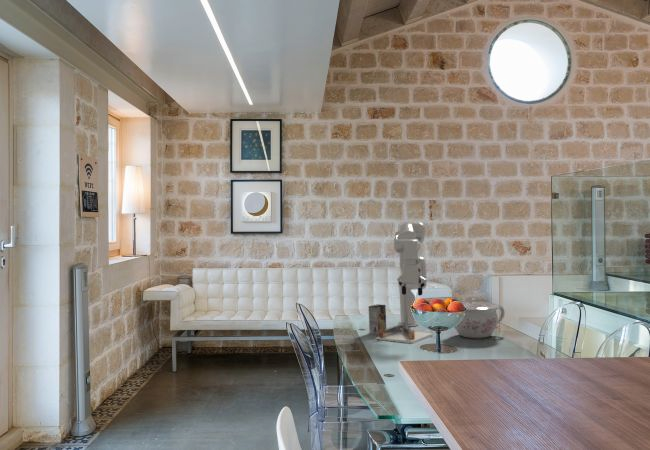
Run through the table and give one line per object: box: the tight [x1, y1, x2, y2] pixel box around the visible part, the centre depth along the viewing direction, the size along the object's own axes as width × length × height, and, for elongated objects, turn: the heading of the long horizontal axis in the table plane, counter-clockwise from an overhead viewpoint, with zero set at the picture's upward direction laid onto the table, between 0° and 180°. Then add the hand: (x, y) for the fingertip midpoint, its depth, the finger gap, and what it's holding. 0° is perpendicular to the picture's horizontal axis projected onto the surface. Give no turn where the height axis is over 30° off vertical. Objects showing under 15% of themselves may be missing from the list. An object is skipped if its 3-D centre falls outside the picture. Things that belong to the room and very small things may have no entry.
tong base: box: [378, 322, 407, 338], centre depth 305 cm, size 22×5×5 cm, turn 142°
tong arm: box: [404, 326, 415, 339], centre depth 300 cm, size 19×3×4 cm, turn 2°
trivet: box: [376, 331, 434, 344], centre depth 302 cm, size 24×22×1 cm
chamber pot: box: [453, 298, 506, 340], centre depth 299 cm, size 28×28×21 cm
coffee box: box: [368, 304, 387, 336], centre depth 317 cm, size 9×6×16 cm
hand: (412, 294), depth 291 cm, fingers open, 9 cm apart
